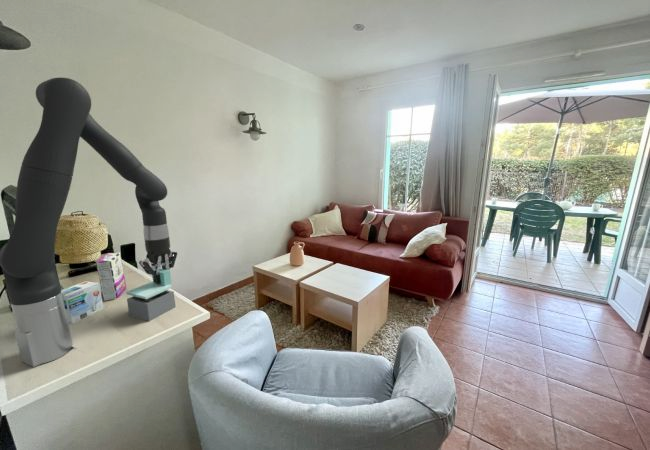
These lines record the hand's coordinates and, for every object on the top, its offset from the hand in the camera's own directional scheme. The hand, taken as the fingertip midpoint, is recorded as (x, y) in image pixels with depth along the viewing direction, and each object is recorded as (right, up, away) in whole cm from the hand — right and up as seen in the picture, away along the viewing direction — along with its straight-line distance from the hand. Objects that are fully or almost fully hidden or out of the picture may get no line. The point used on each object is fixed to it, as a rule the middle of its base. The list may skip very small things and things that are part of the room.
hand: (162, 281), depth 97 cm
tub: (-2, -11, -2) cm, 11 cm away
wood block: (-3, -10, 0) cm, 10 cm away
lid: (-2, -3, -4) cm, 5 cm away
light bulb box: (-25, -11, -4) cm, 28 cm away
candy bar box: (-27, -8, +12) cm, 30 cm away
